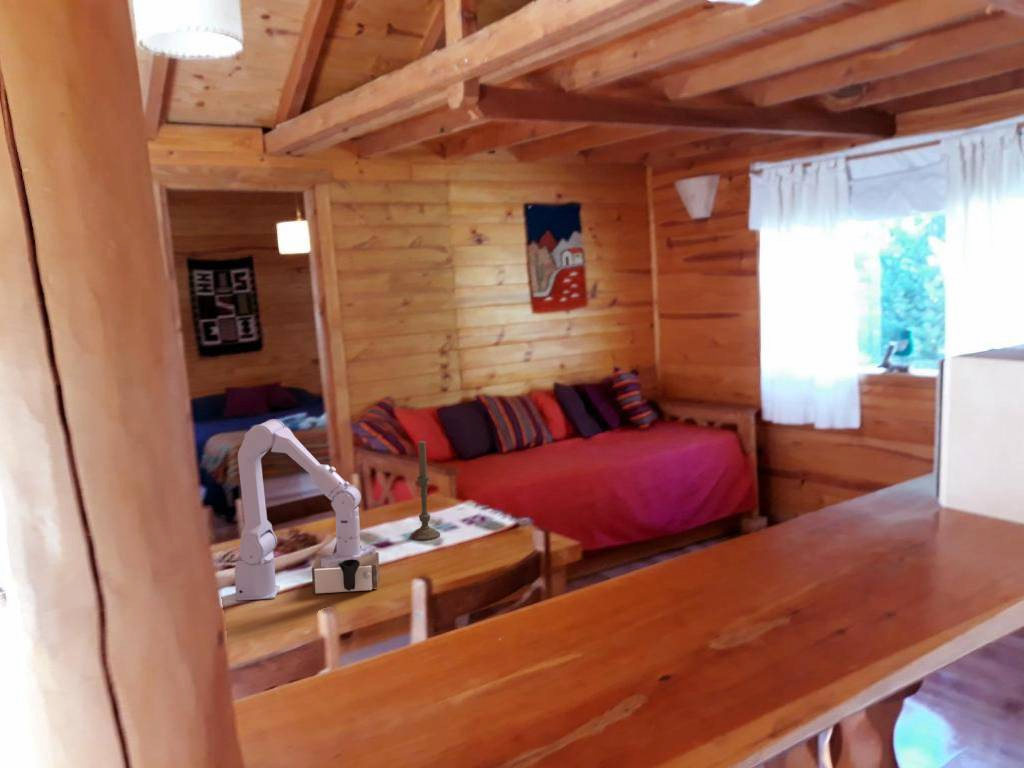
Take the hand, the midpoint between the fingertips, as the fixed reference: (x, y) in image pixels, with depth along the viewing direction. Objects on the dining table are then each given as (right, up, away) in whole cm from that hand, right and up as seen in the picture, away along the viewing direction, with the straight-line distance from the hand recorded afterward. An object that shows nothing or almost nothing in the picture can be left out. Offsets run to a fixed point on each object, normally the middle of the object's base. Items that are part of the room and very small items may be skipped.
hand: (349, 588), depth 208 cm
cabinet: (-2, -1, +8) cm, 9 cm away
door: (-2, -1, +2) cm, 3 cm away
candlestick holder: (+14, +4, +48) cm, 50 cm away
